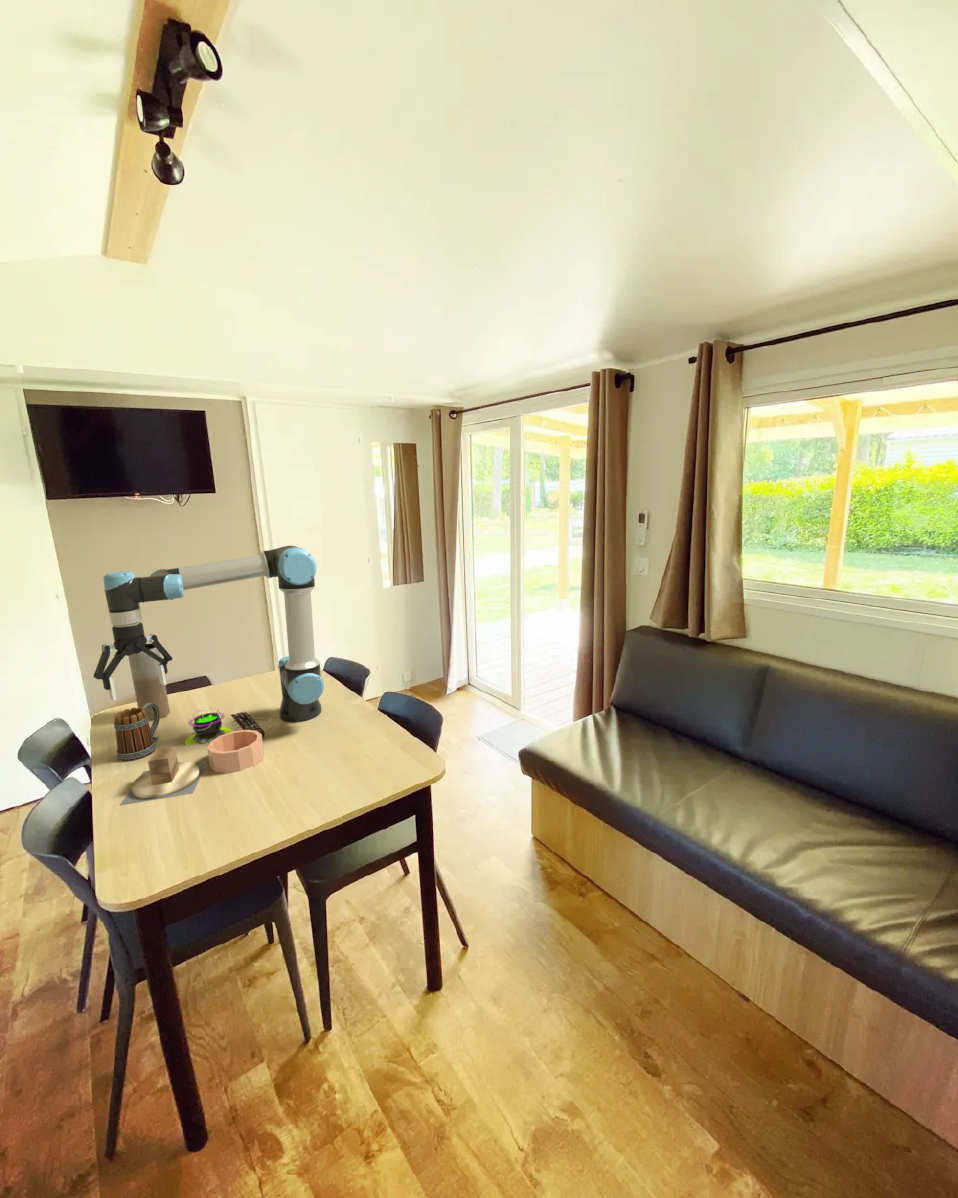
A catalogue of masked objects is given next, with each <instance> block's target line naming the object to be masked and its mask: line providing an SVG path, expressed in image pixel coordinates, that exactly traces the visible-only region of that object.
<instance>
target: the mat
mask: <svg viewBox="0 0 958 1198" xmlns="http://www.w3.org/2000/svg"><path fill="white" fill-rule="evenodd" d="M193 763H194V762H193ZM208 763H209V760H208V761H202V762H196V763H194V764H196V765H198V767H199V771H200V775H199V777H198V779H197V780H196V781H195V782H194V783H193V784H192V785H190V786H189V787H187V788H185V789H183V790H181V791H179V792H177V793H174V794H172V795H168V796H165V797H160V798H154V799H141V798H137V797H135V796H134V795H133V793H132V788H131V787H130V789H129V791H128V792H127V794H126V795H125V797H124V799H123V800H122V801H121V802H120V804H119V806H126V805H130V804H137V803H142V802H148V801H156V800H161V799H167V798H172V797H178V796H179V797H180V796H186V795H191V794H193V793H194V791H195V790H196V787H197V785H198V783H199V781H200V779H201V777H202V775H203V773H204V771H205V769H206V767H207V764H208ZM148 771H150V769H149V770H143V771H142V773H141V774H140V775H139V776H141V775H142V774H144V773H146V772H148Z"/></svg>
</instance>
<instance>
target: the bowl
mask: <svg viewBox="0 0 958 1198" xmlns="http://www.w3.org/2000/svg"><path fill="white" fill-rule="evenodd" d="M207 754H208V763H209V767H210V769H211V770H212V771H213V772H215V773H220V774H229V773H230V774H231V773H236V772H241V771H244V770H246V769H248V768H251V767H253V768H255V767H257V765H259V764H260V763H262V762H263V761H264V757H265V748H264V743H263V734H262V733H261V732H259V731H257V730H252V729H243V730H242V729H241V730H235V731H234V730H233V732H230V733H227V734H224V735H221V736H219V737H217V738H216V739H214V740H213V741H211V742H209V744H208V746H207Z"/></svg>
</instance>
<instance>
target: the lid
mask: <svg viewBox="0 0 958 1198" xmlns="http://www.w3.org/2000/svg"><path fill="white" fill-rule="evenodd" d="M177 755H178V754H177V750H176V746H171V747H165V748H160V749H159V748H158V749H157V748H156V750H155V751H154V752H153V753H152V754H151V757H150V758H149V759H148V760H147V763H148V769H149V770H150V771H149V770H147V771H148V772H146V773H144V774H142V773H141V774H142V775H141V774H140V775H141V776H140V775H139V776H138V777H137V778H136V779H135V780H134V781H132V784H131V785H130V786H131V787H130V789H131V788H132V793H133V795H134V796H135V797H137V798H141V799H154V798H160V797H165V796H168V795H172V794H174V793H177V792H179V791H181V790H183V789H185V788H187V787H189V786H190V785H192V784H193V783H194V782H195V781H196V780H197V779H198V777H199V775H200V771H199V767H198V765H196V764H194V762H192V761H191V762H190V761H178V756H177Z"/></svg>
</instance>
